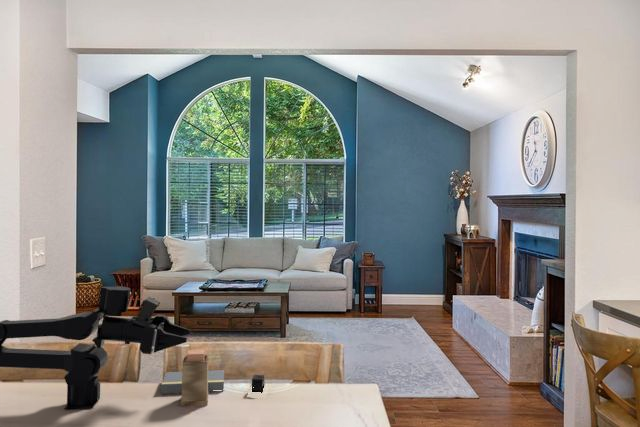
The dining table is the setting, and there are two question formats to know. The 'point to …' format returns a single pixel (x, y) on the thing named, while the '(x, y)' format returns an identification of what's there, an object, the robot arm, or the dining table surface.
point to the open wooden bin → (195, 383)
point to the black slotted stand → (258, 383)
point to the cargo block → (195, 355)
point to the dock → (174, 382)
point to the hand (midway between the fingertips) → (188, 335)
